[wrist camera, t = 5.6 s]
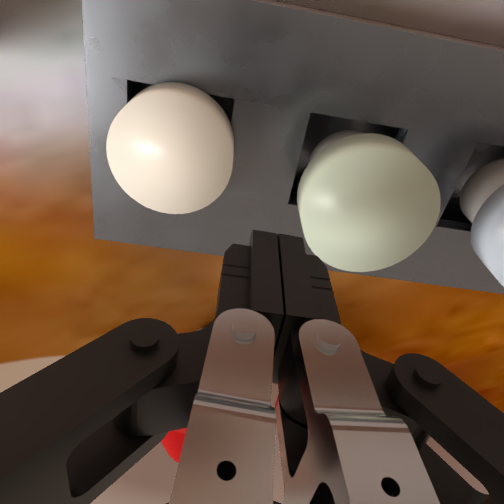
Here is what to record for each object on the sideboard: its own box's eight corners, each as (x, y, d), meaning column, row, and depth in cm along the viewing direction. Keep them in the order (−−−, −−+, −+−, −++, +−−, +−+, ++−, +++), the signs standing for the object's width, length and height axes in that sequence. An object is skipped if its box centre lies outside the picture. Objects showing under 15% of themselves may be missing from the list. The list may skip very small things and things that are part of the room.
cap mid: (416, 122, 18) (465, 164, 14) (377, 221, 21) (408, 279, 17) (305, 103, 18) (322, 139, 14) (280, 206, 21) (289, 262, 16)
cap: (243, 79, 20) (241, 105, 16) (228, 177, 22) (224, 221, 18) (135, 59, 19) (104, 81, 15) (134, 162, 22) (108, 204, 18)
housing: (564, 59, 22) (655, 82, 17) (464, 240, 29) (509, 294, 24) (121, -31, 20) (79, -35, 15) (123, 189, 26) (94, 238, 21)
